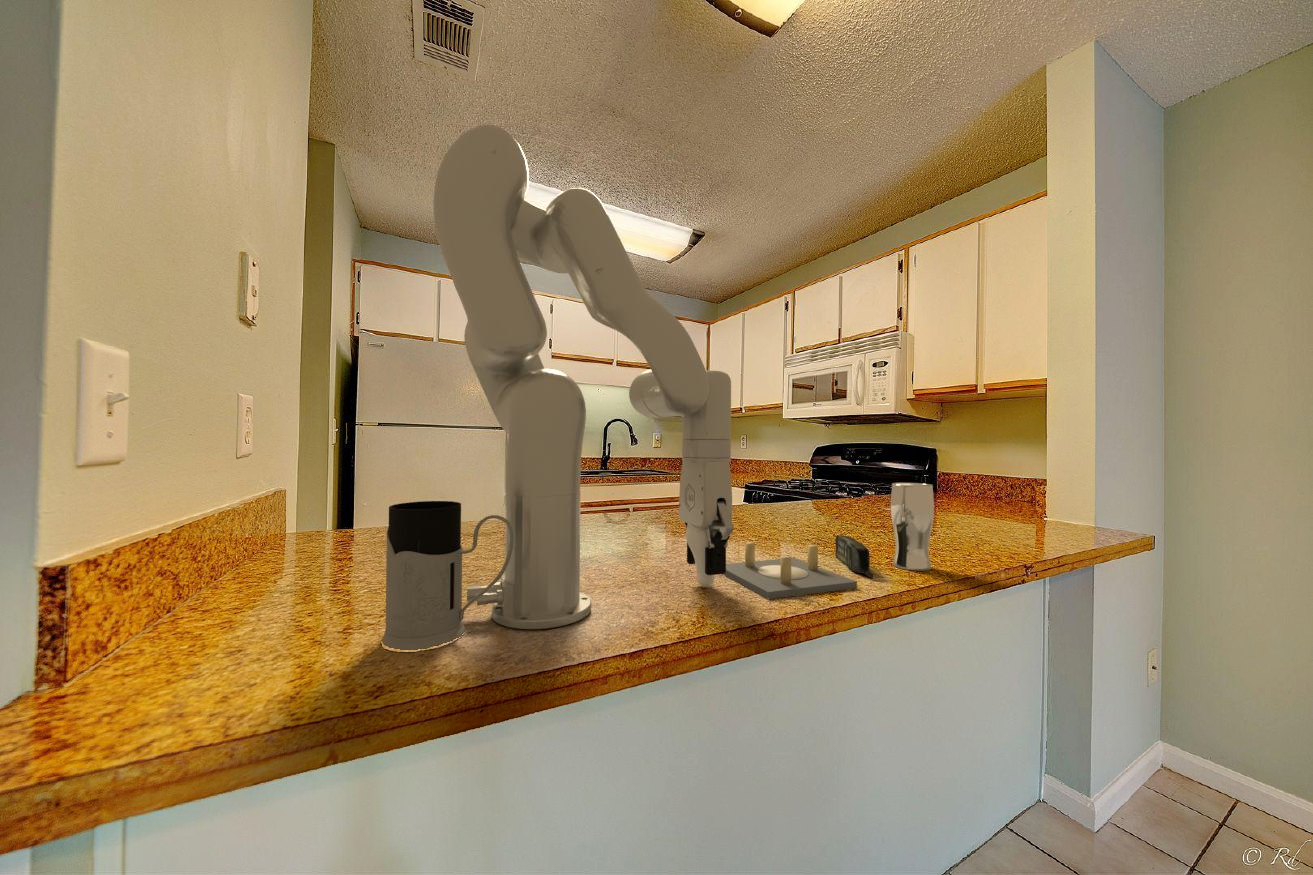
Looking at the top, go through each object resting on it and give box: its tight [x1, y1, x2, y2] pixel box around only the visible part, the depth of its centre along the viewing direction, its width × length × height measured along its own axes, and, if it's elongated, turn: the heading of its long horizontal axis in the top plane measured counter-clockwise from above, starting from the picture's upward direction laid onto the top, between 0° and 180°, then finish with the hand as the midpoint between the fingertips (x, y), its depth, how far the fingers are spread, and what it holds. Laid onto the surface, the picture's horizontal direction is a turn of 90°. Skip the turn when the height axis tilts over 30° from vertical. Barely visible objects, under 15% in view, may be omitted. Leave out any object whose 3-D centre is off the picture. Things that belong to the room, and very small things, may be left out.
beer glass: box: [890, 482, 935, 572], centre depth 87 cm, size 7×7×15 cm
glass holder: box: [381, 500, 514, 650], centre depth 55 cm, size 9×14×15 cm, turn 95°
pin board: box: [723, 541, 858, 600], centre depth 79 cm, size 16×16×5 cm
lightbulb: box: [685, 522, 719, 588], centre depth 74 cm, size 6×6×11 cm
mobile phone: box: [835, 535, 875, 579], centre depth 87 cm, size 5×3×15 cm
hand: (705, 567), depth 74 cm, fingers closed on lightbulb, 5 cm apart
